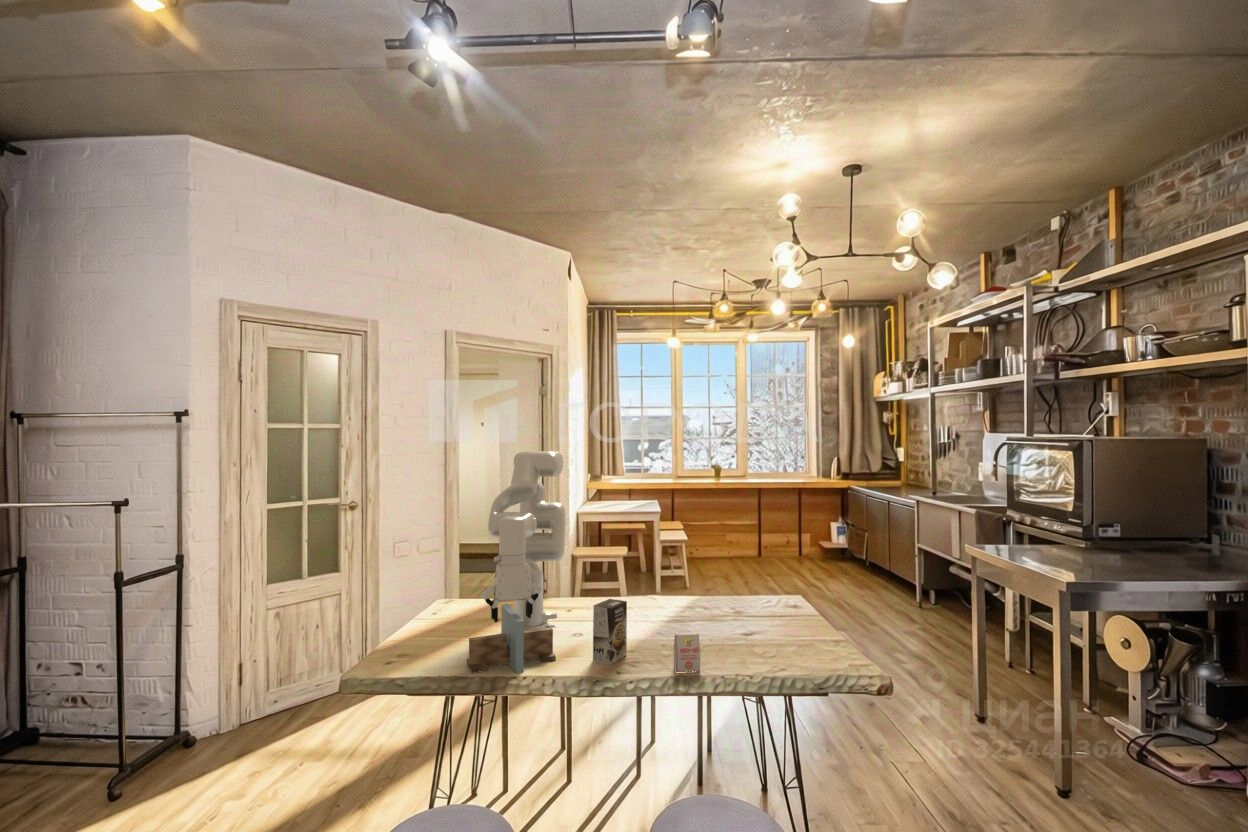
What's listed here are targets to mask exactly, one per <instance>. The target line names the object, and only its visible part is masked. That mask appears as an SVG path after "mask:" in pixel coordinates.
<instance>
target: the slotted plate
mask: <svg viewBox="0 0 1248 832" xmlns="http://www.w3.org/2000/svg"><path fill="white" fill-rule="evenodd" d="M504 633H505V634H506V635H507V647H509V648H510V663H509V665H510V667H511V666H512V667H511V668H512V670H513V671H514V672H515V673H516V674H520V673H524V661H523V654H524V621H523V619H522V618H521V617H520V616H519V615H518V614H517V613H516V612H515V609H513V607H512V606H510V604H508V603H507V604H501V633H500V634H504Z"/></svg>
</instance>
